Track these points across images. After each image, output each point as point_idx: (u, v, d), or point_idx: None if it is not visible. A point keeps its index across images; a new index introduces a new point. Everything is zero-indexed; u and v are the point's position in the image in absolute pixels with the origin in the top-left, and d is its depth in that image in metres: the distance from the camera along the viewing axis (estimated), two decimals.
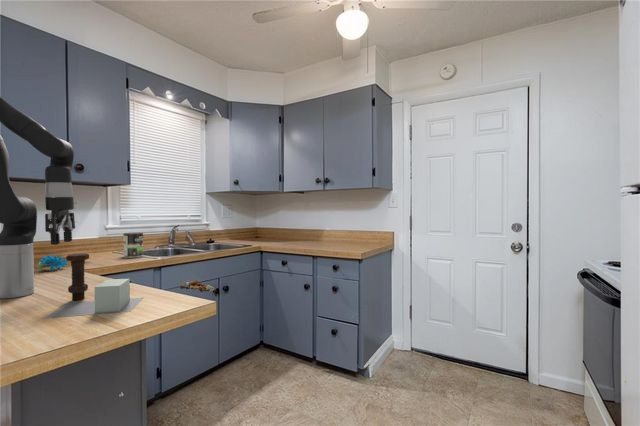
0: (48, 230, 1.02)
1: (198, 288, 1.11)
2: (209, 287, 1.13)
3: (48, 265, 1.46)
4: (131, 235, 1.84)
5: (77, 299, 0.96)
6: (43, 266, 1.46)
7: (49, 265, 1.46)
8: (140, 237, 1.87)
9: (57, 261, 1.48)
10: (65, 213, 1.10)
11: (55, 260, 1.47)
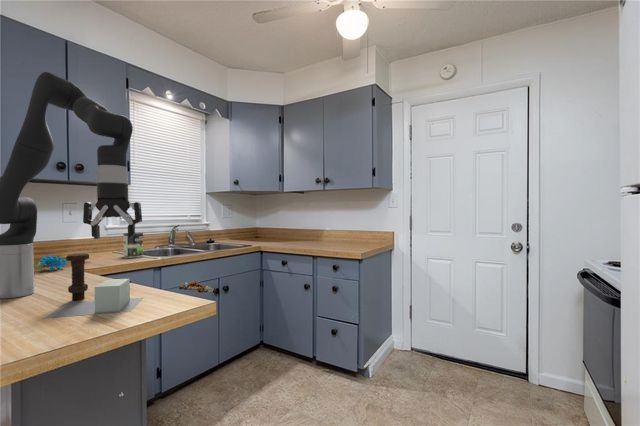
0: (140, 220, 0.92)
1: (196, 289, 1.09)
2: (208, 288, 1.12)
3: (48, 265, 1.46)
4: None
5: (77, 299, 0.96)
6: (43, 266, 1.46)
7: (49, 265, 1.46)
8: (140, 237, 1.87)
9: (57, 261, 1.47)
10: None
11: (55, 260, 1.47)
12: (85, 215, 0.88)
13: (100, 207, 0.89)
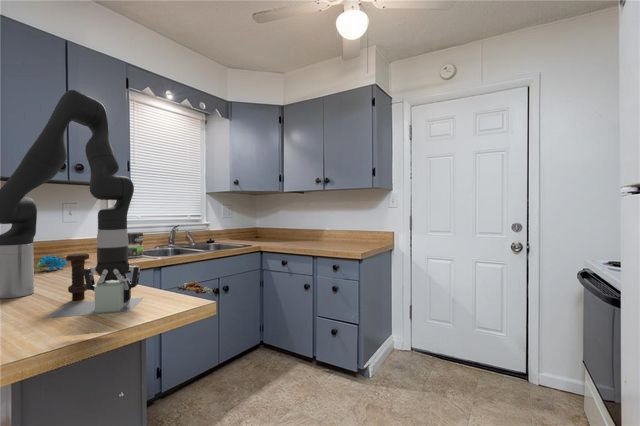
0: (135, 285, 0.92)
1: (194, 290, 1.08)
2: (206, 289, 1.11)
3: (47, 265, 1.46)
4: (131, 235, 1.84)
5: (77, 299, 0.96)
6: (42, 266, 1.45)
7: (48, 265, 1.46)
8: (140, 237, 1.87)
9: (56, 261, 1.47)
10: None
11: (54, 260, 1.46)
12: (87, 282, 0.88)
13: (100, 271, 0.89)
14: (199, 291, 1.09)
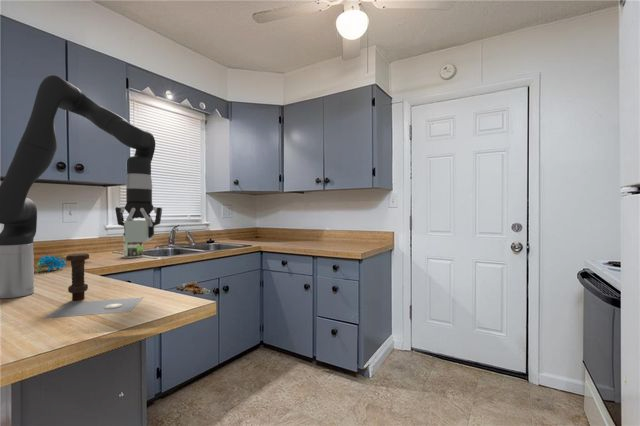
0: (158, 223, 1.07)
1: (192, 291, 1.07)
2: (204, 290, 1.09)
3: (46, 265, 1.45)
4: None
5: (77, 299, 0.96)
6: (42, 266, 1.45)
7: (47, 265, 1.46)
8: None
9: (55, 261, 1.47)
10: None
11: (53, 260, 1.46)
12: (118, 218, 1.03)
13: (129, 209, 1.04)
14: (197, 292, 1.08)
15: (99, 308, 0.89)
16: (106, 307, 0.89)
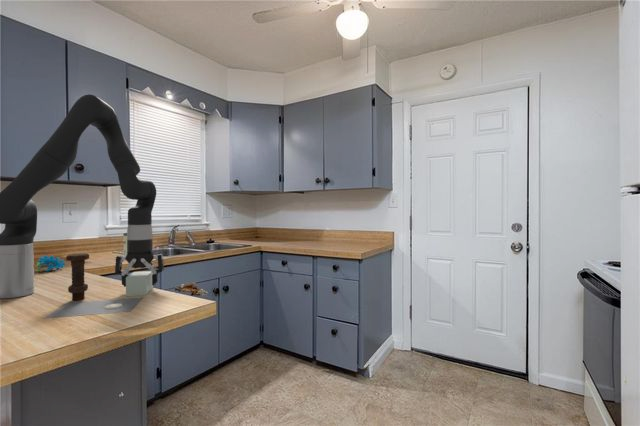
0: None
1: (189, 291, 1.06)
2: (201, 291, 1.08)
3: (46, 265, 1.45)
4: None
5: (77, 299, 0.96)
6: (41, 266, 1.45)
7: (47, 265, 1.45)
8: None
9: (54, 262, 1.46)
10: None
11: (52, 261, 1.45)
12: (117, 267, 1.04)
13: (129, 260, 1.05)
14: (194, 293, 1.07)
15: (99, 308, 0.89)
16: (106, 307, 0.89)
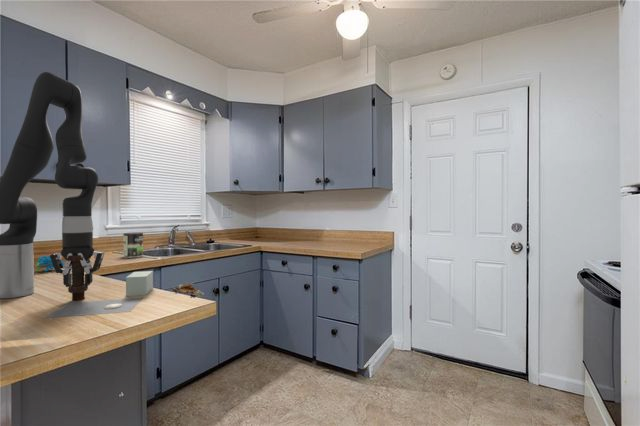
0: (96, 270, 0.98)
1: (185, 292, 1.05)
2: (197, 292, 1.06)
3: (45, 266, 1.45)
4: (131, 235, 1.84)
5: (77, 299, 0.96)
6: (40, 266, 1.45)
7: (46, 266, 1.45)
8: (140, 237, 1.87)
9: None
10: None
11: (51, 261, 1.45)
12: (55, 266, 0.95)
13: (66, 254, 0.96)
14: None
15: (99, 308, 0.89)
16: (106, 307, 0.89)
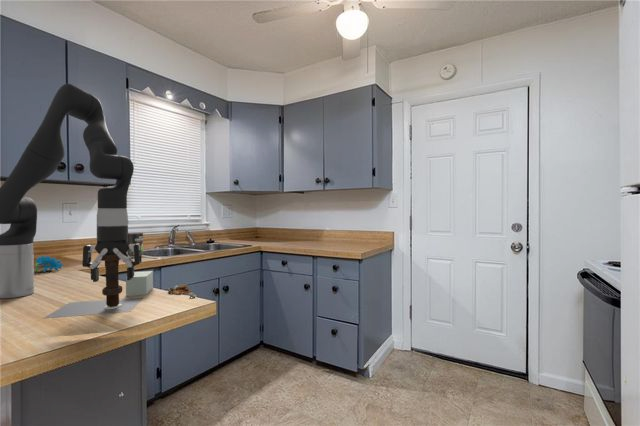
0: None
1: (177, 294, 1.03)
2: None
3: (43, 266, 1.44)
4: (131, 235, 1.84)
5: (112, 302, 0.89)
6: (39, 267, 1.44)
7: (44, 266, 1.44)
8: (140, 237, 1.87)
9: (51, 262, 1.45)
10: None
11: (49, 261, 1.44)
12: (84, 258, 0.87)
13: (99, 250, 0.88)
14: None
15: (99, 308, 0.89)
16: (106, 307, 0.89)
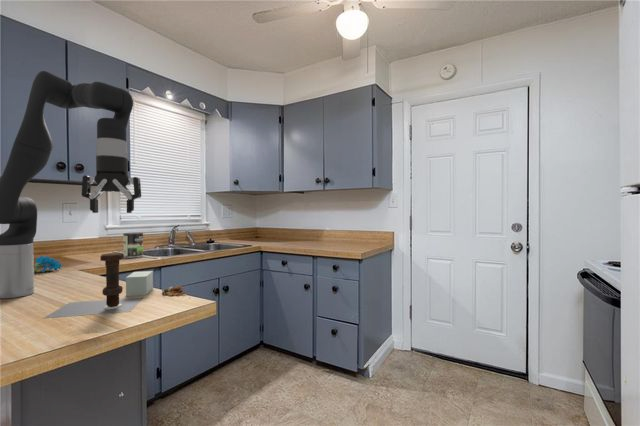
0: (139, 196, 0.91)
1: (170, 295, 1.01)
2: None
3: (43, 266, 1.44)
4: (131, 235, 1.84)
5: (112, 302, 0.89)
6: (39, 267, 1.44)
7: (43, 266, 1.44)
8: (140, 237, 1.87)
9: (50, 262, 1.44)
10: None
11: (48, 261, 1.44)
12: (84, 188, 0.87)
13: (99, 181, 0.88)
14: None
15: (99, 308, 0.89)
16: (106, 307, 0.89)
